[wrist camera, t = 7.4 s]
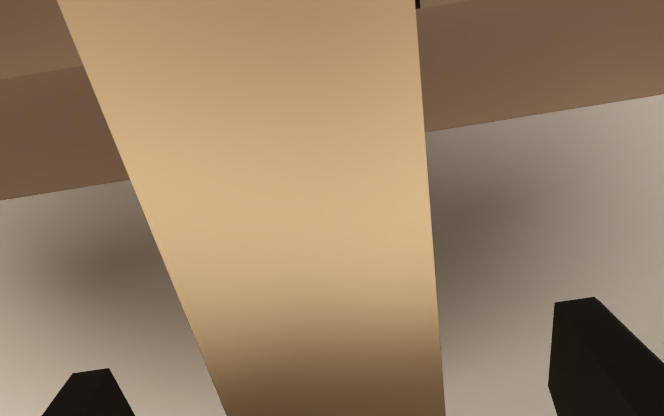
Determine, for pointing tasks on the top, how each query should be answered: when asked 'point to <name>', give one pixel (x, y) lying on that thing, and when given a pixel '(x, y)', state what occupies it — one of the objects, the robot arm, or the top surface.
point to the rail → (281, 191)
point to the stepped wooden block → (435, 70)
